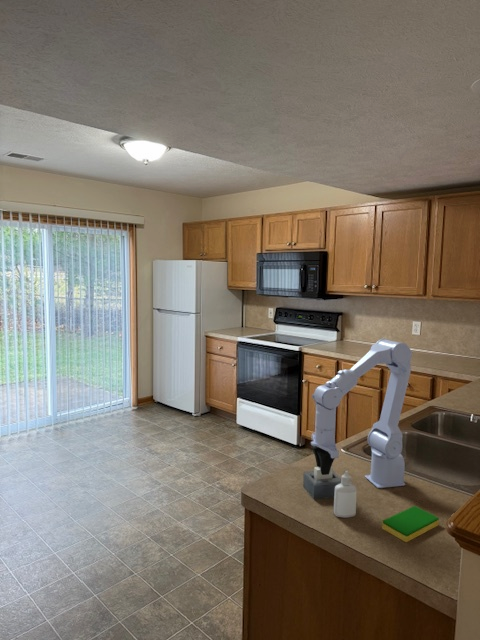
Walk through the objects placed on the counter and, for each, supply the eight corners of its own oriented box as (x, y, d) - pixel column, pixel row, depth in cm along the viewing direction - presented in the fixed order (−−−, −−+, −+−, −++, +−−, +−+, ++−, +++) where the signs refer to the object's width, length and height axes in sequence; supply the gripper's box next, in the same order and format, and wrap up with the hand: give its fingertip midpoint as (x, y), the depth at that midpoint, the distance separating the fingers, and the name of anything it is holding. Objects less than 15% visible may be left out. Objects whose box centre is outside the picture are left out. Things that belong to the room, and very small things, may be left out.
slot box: (330, 483, 135) (331, 469, 134) (342, 496, 127) (343, 480, 126) (303, 486, 132) (303, 471, 132) (313, 499, 125) (314, 483, 124)
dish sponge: (381, 529, 111) (381, 520, 111) (414, 513, 119) (414, 505, 119) (405, 544, 105) (406, 534, 105) (438, 526, 113) (439, 517, 113)
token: (329, 481, 131) (329, 465, 131) (332, 485, 129) (332, 468, 129) (313, 483, 130) (314, 467, 129) (316, 486, 128) (316, 470, 127)
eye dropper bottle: (353, 521, 114) (356, 476, 113) (332, 516, 116) (334, 472, 115) (356, 513, 118) (358, 469, 117) (335, 508, 120) (337, 465, 119)
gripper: (302, 420, 134) (301, 463, 135) (322, 437, 120) (320, 484, 121) (324, 418, 136) (322, 461, 137) (346, 435, 122) (344, 482, 123)
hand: (323, 472), depth 129 cm, fingers closed on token, 2 cm apart
